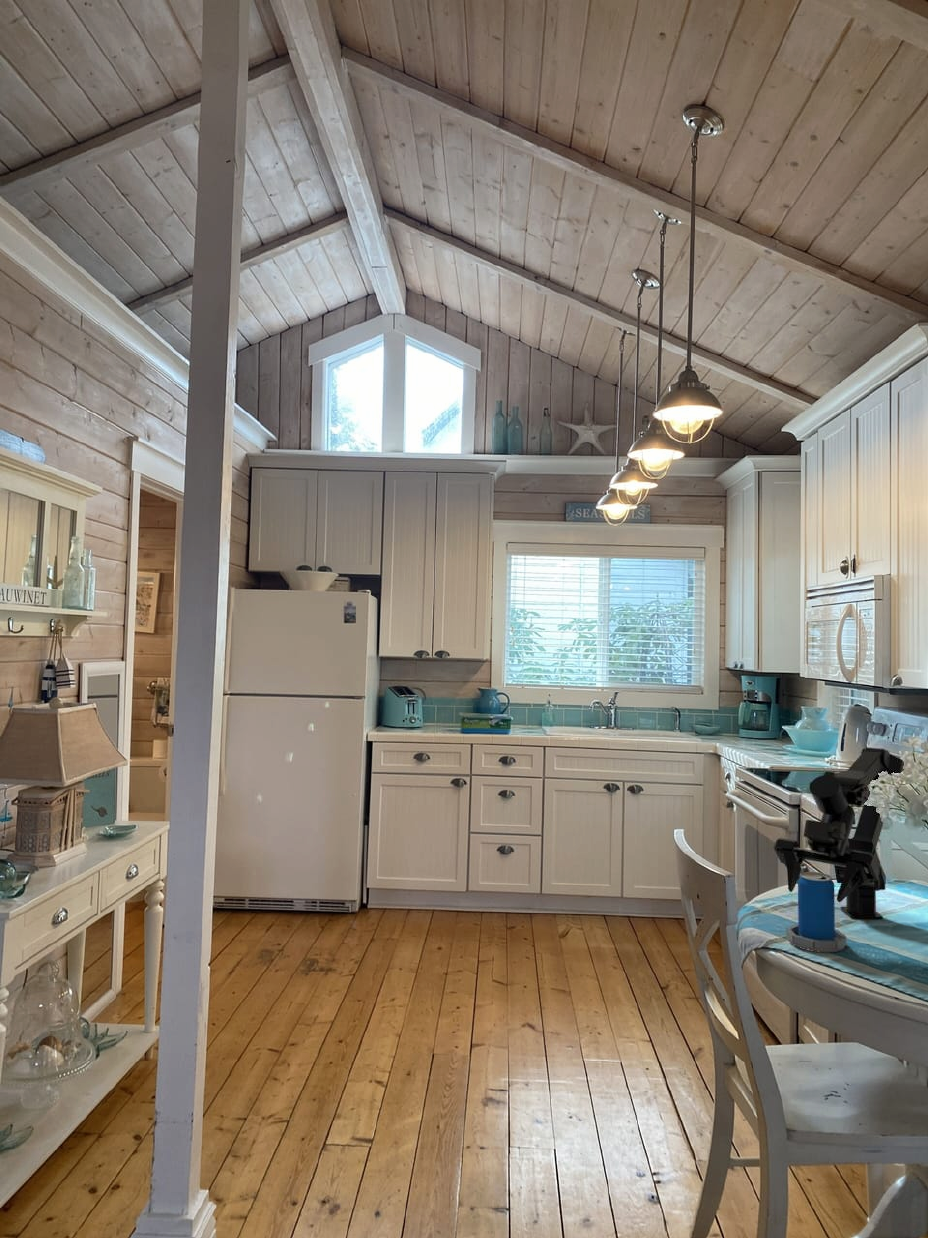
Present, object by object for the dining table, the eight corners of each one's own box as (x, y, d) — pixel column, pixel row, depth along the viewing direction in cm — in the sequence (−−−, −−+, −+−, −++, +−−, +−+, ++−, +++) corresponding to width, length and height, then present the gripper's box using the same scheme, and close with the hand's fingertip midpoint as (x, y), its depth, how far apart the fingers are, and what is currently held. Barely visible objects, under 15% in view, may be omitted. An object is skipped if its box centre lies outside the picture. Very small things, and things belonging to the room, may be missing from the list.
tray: (781, 933, 166) (781, 923, 166) (832, 935, 166) (832, 925, 166) (797, 952, 156) (797, 941, 156) (852, 953, 156) (852, 942, 156)
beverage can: (835, 946, 157) (834, 882, 157) (798, 942, 159) (797, 878, 160) (834, 935, 163) (833, 873, 163) (798, 931, 165) (797, 870, 166)
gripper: (777, 798, 171) (753, 862, 163) (873, 810, 158) (853, 881, 150) (793, 831, 177) (771, 894, 169) (887, 845, 164) (869, 915, 156)
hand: (813, 895), depth 161 cm, fingers open, 9 cm apart
